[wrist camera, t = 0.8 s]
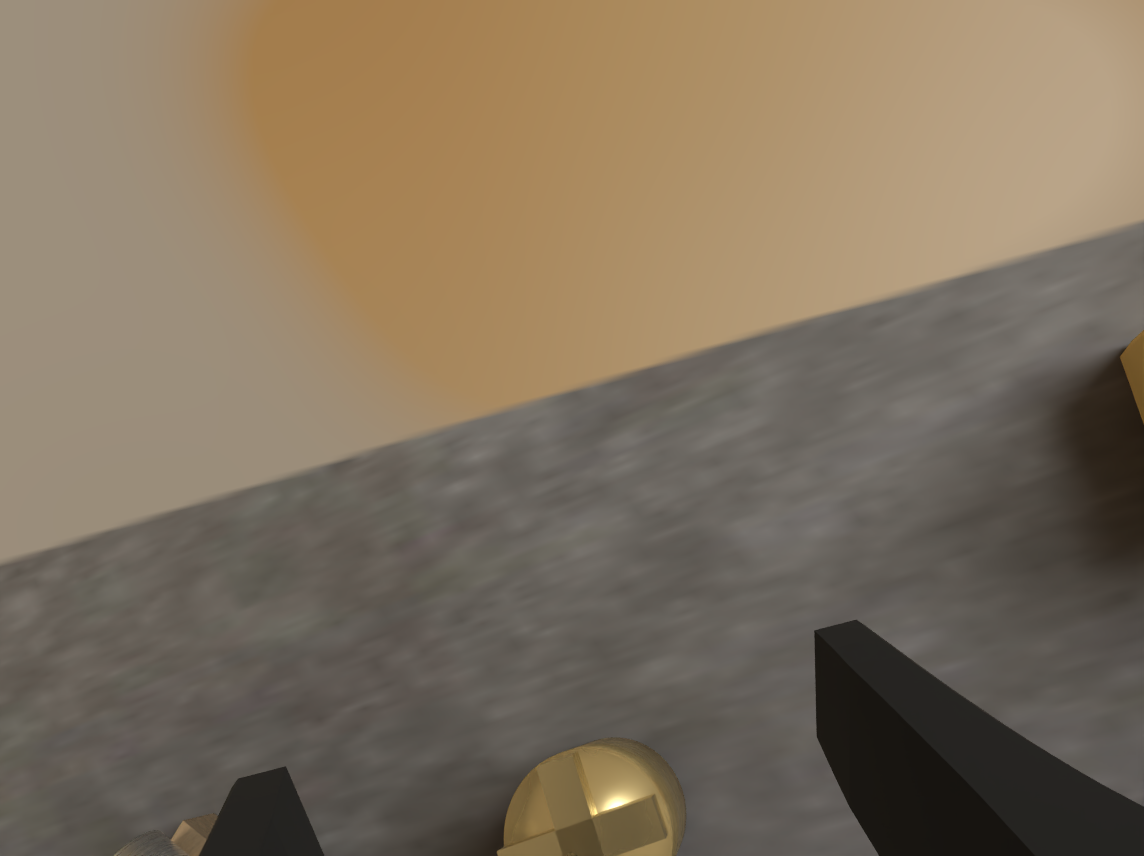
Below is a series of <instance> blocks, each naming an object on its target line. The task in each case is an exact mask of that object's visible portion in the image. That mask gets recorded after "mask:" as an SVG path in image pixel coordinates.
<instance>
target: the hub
mask: <svg viewBox="0 0 1144 856" xmlns="http://www.w3.org/2000/svg"><path fill="white" fill-rule="evenodd" d="M685 826H686V805H685V799H684V795H683V791H682V788H681V785H680V783H679V781H678V778H677V777H676V775H675V773H674V771H673V770H672V769H671V767H670V766H669V765H668V763H667V762H666V761H665V760H664V759H663V758H662V757H661V756H660V755H659V754H658V753H656V752H655V751H654V750H652V749H651V748H649V747H648V746H646V745H644V744H642V743H639V742H637V741H634V740H630V739H626V738H604V739H599V740H596V741H593V742H590V743H587V744H584V745H581V746H578V747H576V748H573V749H570V750H567V751H564V752H562V753H559V754H557V755H554V756H552V757H550V758H548V759H546V760H545V761H543V762H542V763H540V764H539V765H538V766H536V767H535V768H534V769H533V770H532V771H531V772H530V773H529V774H528V775H527V776H526V777H525V778H524V780H523V781H522V782H521V784H520V785H519V786H518V788H517V790H516V792H515V794H514V795H513V797H512V800H511V802H510V805H509V808H508V811H507V815H506V819H505V826H504V847H502V848H501V849H499V850H498V851H497V854H498V856H676V854H677V852H678V850H679V848H680V845H681V842H682V839H683V836H684V832H685Z"/></svg>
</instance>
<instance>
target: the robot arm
mask: <svg viewBox="0 0 1144 856" xmlns="http://www.w3.org/2000/svg"><path fill="white" fill-rule="evenodd" d="M814 632H815V678H816V724H817V738H818V740H819V743H820V745H821V747H822V749H823V751H824V754H825V756H826V758H827V760H828V762H829V765H830V767H831V769H832V771H833V773H834V776H835V778H836V780H837V782H838V784H839V786H840V788H841V790H842V792H843V794H844V796H845V798H846V800H847V803H848V805H849V807H850V808H851V810H852V812H853V813H854V815H855V817H856V818H857V820H858V822H859V823H860V825H861V827H862V828H863V830H864V832H865V833H866V835H867V836H868V838H869V840H870V841H871V843H872V845H873V846H874V848H875V850H876V851H877V853H878V854H879V856H1144V807H1143V806H1141V805H1139V804H1138V803H1136V802H1134V801H1132V800H1130V799H1128V798H1126V797H1124V796H1123V795H1121V794H1119V793H1117V792H1115V791H1113V790H1111V789H1109V788H1107V787H1106V786H1104V785H1102V784H1100V783H1099V782H1097V781H1095V780H1093V779H1091V778H1090V777H1088V776H1086V775H1085V774H1083V773H1081V772H1080V771H1078V770H1076V769H1074V768H1073V767H1071V766H1069V765H1068V764H1066V763H1065V762H1063V761H1061V760H1060V759H1058V758H1056V757H1055V756H1053V755H1051V754H1050V753H1048V752H1047V751H1045V750H1043V749H1042V748H1040V747H1038V746H1037V745H1035V744H1034V743H1032V742H1030V741H1029V740H1027V739H1026V738H1024V737H1023V736H1021V735H1020V734H1018V733H1016V732H1015V731H1013V730H1012V729H1010V728H1009V727H1007V726H1006V725H1004V724H1003V723H1001V722H1000V721H998V720H997V719H995V718H994V717H992V716H991V715H989V714H988V713H986V712H985V711H984V710H982V709H981V708H979V707H978V706H976V705H975V704H973V703H972V702H970V701H969V700H967V699H966V698H964V697H963V696H961V695H960V694H959V693H957V692H956V691H954V690H953V689H951V688H950V687H949V686H947V685H946V684H944V683H943V682H942V681H940V680H939V679H937V678H936V677H935V676H933V675H932V674H930V673H929V672H928V671H926V670H925V669H924V668H922V667H921V666H919V665H918V664H917V663H915V662H914V661H913V660H911V659H910V658H908V657H907V656H906V655H904V654H903V653H902V652H900V651H899V650H898V649H896V648H895V647H893V646H892V645H891V644H889V643H888V642H887V641H885V640H884V639H883V638H881V637H880V636H879V635H877V634H876V633H875V632H873V631H872V630H870V629H869V628H868V627H866V626H865V625H863V624H862V623H860V622H859V621H857V620H853V621H850V622H846V623H842V624H838V625H834V626H830V627H826V628H822V629H818V630H815V631H814ZM199 856H324V854H323V852H322V849H321V847H320V845H319V842H318V840H317V838H316V835H315V833H314V831H313V828H312V826H311V824H310V821H309V819H308V817H307V814H306V812H305V810H304V807H303V805H302V803H301V801H300V798H299V796H298V794H297V791H296V789H295V787H294V784H293V782H292V780H291V777H290V775H289V773H288V770H287V768H286V767H282V768H278V769H274V770H270V771H266V772H262V773H259V774H255V775H251V776H247V777H243V778H239V779H238V780H237V781H236V783H235V784H234V785H233V787H232V788H231V791H230V793H229V795H228V797H227V799H226V801H225V803H224V805H223V807H222V809H221V811H220V813H219V815H218V817H217V819H216V821H215V823H214V826H213V828H212V830H211V832H210V834H209V836H208V838H207V840H206V842H205V844H204V846H203V848H202V850H201V852H200V854H199Z"/></svg>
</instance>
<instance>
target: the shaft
mask: <svg viewBox="0 0 1144 856" xmlns="http://www.w3.org/2000/svg"><path fill="white" fill-rule="evenodd" d="M217 817H218V816H217V815H216V814H214V813H213V814H209V815H204V816H200V817H196V818H192V819H188V820H183V822H182V823H181V825H180V826H179V828H178V830H177V831H176V833H175V834H174V836H173V837H172V839H171V840H170V839H169V838H168V837H167V836H166V835H164V834H163V833H162V832H161V831H157V830H154V831H149V832H146V833H144V834H142V835H140V836H138V837H136V838H135V839H133V840H132V841H130V842H129V843H128V844H126V845H125V846H124V847H123V848H121V849H120V850H119V851H118V852H117V853H116V854H115V855H113V856H199V854H200V852H201V850H202V848H203V846H204V844H205V842H206V840H207V838H208V836H209V834H210V832H211V830H212V828H213V826H214V823H215V821H216V819H217Z"/></svg>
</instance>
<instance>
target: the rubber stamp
mask: <svg viewBox="0 0 1144 856" xmlns="http://www.w3.org/2000/svg"><path fill="white" fill-rule="evenodd" d="M1120 359H1121V361H1122V364H1123V367H1124V370H1125V373H1126V375H1127V378H1128V381H1129V384H1130V387H1131V389H1132V392H1133V395H1134V398H1135V401H1136V404H1137V406H1138V409H1139V412H1140V415H1141V418H1142V420H1143V423H1144V330H1143V331H1142V332H1141V333H1140V334H1139V335H1138V336H1137V337H1136V338H1134V339H1133V340H1132V341H1131V343H1130V344H1129V345H1128V347H1127V348H1126V349H1125V351H1124V352H1123V353H1122V355H1121V356H1120Z"/></svg>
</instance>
